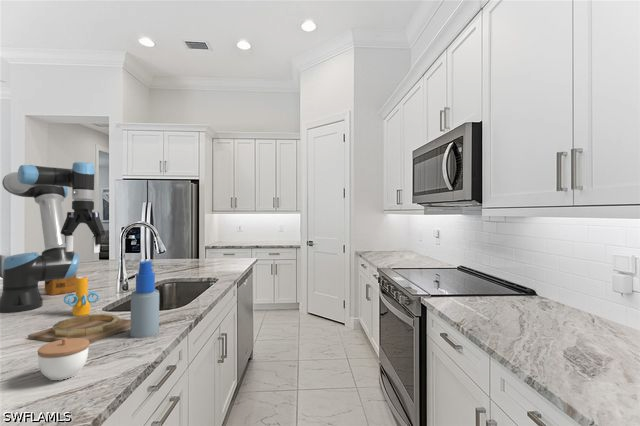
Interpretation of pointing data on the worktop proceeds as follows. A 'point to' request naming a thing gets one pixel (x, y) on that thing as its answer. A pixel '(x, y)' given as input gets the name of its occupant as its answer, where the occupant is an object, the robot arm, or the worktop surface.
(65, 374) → the lidded jar
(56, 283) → the coffee package
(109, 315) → the tan flat ring
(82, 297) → the cylinder
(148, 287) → the spray bottle
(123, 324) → the seat plate
